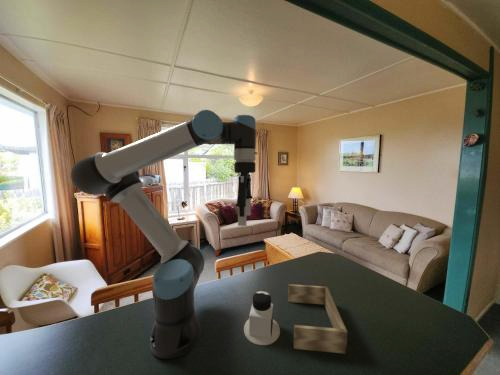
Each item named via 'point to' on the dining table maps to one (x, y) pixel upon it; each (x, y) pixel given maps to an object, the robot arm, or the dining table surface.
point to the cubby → (318, 336)
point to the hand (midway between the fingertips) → (244, 219)
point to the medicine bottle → (261, 315)
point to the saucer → (262, 340)
